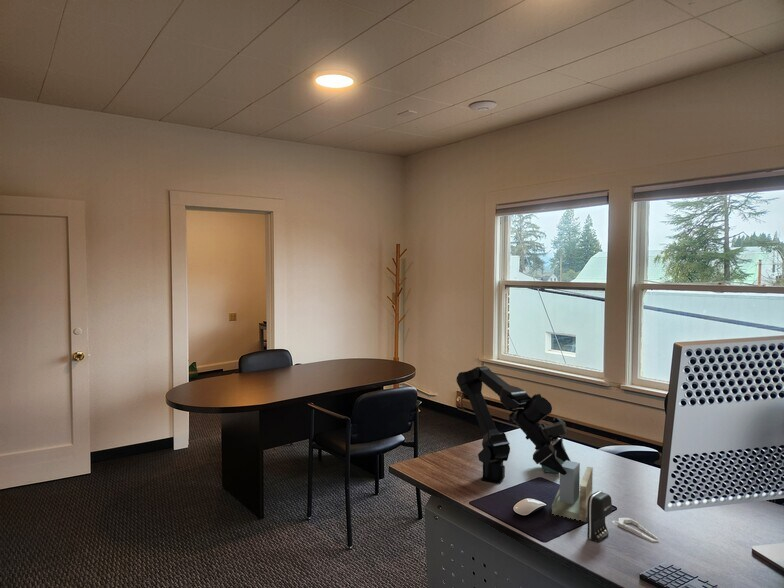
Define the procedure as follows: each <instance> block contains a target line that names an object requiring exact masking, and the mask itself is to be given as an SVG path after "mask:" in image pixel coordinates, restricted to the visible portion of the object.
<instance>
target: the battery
mask: <svg viewBox="0 0 784 588" xmlns="http://www.w3.org/2000/svg"><path fill="white" fill-rule="evenodd" d="M612 503H613V502H612V497H611V495H610V494H608V493H606V492H603V491H601V490H597V491H595V492H594V493H593V492H592V495H590V497H589V499H588V515H587V539H589V540H592V541H595V542H600V541H602V540H604V539H605V538H607V537H608V536H609V530H608V528H607V524H606V517H608V516H610V515H611V514H612V511H613V510H612V509H613V507H612V505H613V504H612Z"/></svg>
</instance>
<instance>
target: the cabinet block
mask: <svg viewBox="0 0 784 588" xmlns="http://www.w3.org/2000/svg"><path fill="white" fill-rule="evenodd" d="M562 466H563V468H564V469H565V471H566V472H567V474H565V475H562V474H560V473H559V488H560V496H559V497H560V501H561V502H565V503H569V504H573V505H574V503H575V502H576V501H577V500H578V498H579V491H580V478H581V477H580V471H581V470H580V469H581V468H580V466H581V463H580V462H576V461H572V460H570V461H568V460H566V461H565V462H564V463H563V464H562Z"/></svg>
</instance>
